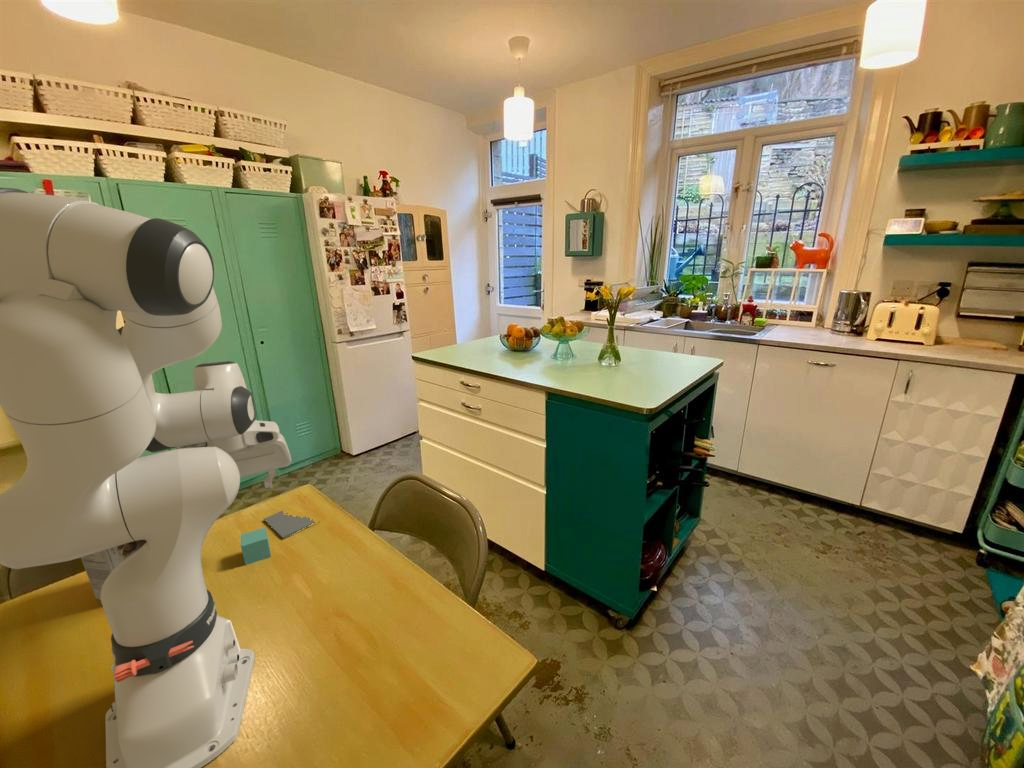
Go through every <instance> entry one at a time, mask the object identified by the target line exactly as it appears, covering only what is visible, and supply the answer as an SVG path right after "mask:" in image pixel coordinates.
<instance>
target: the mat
mask: <svg viewBox="0 0 1024 768" xmlns="http://www.w3.org/2000/svg"><path fill="white" fill-rule="evenodd" d="M283 514H284V513H283V510H281V511H277V512H275V513H273V514H272V515H269V516H267V517H264V518H263V521H264V520H265V521H266V522H267V523H268V524H269V525H270V526H271V527H272V528H271V527H270V526H269V525H268V524H267V523H266V522H265V521H264V522H265V523H266V524H267V525H268V526H269V527H270V528H271V529H272V531H274V532H275V531H276V532H277V533H278V534H279V535H280V536H281V537H282V538H285V539H287V538H289V537H291V536H293V535H292V534H294V533H296V532H297V531H299V530H302V529H303V528H305V527H308V526H309V525H311V524H312V523H315V522H314V521H313V519H312V520H311V521H310V518H309V517H308V518H306V516H305V517H303V518H301V517H298V516H296V517H293V516H292V515H289V516H288V515H285V514H284V515H283ZM286 514H288V513H286ZM308 528H309V527H308ZM302 531H303V530H302ZM276 532H275V533H276ZM277 533H276V534H277ZM278 534H277V535H278ZM296 534H297V533H296ZM279 535H278V536H279ZM290 535H291V536H290ZM294 535H295V534H294ZM280 536H279V537H280ZM288 536H289V537H288ZM281 537H280V538H281ZM286 537H287V538H286ZM282 538H281V539H282Z"/></svg>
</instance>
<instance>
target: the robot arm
mask: <svg viewBox="0 0 1024 768" xmlns="http://www.w3.org/2000/svg"><path fill="white" fill-rule="evenodd" d="M214 279H215V265H214V260H213V257H212V253H211V251H210V250H209V248H208V247H207V245H206V244H205V243H204V241H202V239H201V238H200V237H199V236H198V235H197V234H196V233H195V232H193V231H192V230H191V229H188V228H186V227H185V226H182V225H180V224H177V223H175V222H172V221H169V220H166V219H163V218H157V217H155V218H150V217H146V216H143V215H140V214H137V213H133V212H129V211H126V210H121V209H118V208H114V207H110V206H106V205H101V204H99V203H97V202H94V201H89V200H86V199H85V200H84V199H80V198H73V197H69V196H68V197H66V196H61V195H53V194H43V193H42V194H41V193H33V192H28V191H26V190H22V189H18V188H11V187H0V407H1V409H2V410H3V413H4V415H5V416H6V418H7V419H8V421H9V422H10V424H11V426H12V428H13V430H14V431H15V433H16V435H17V437H18V439H19V442H20V444H21V445H22V448H23V450H24V453H25V455H26V459H27V460H26V461H27V464H26V467H25V471H24V473H23V475H21V477H20V478H19V479H18V480H17V481H16V482H15V483H14V484H13V485H12V486H11V487H9V488H8V489H7V490H5V491H3V492H2V493H0V565H1V566H4V567H6V568H10V569H13V570H20V569H27V568H34V567H40V566H47V565H53V564H58V563H64V562H69V561H73V560H77V559H81V557H83V556H87V555H90V554H93V553H96V552H100V551H103V550H106V549H110V548H113V547H116V546H119V545H123V544H126V543H129V542H133V541H138V540H146V541H147V542H146V543H145V544H144V545H143V546H142V547H141V548H140V549H139V550H137V551H136V552H134V553H133V554H132V555H130V556H129V557H127V558H126V559H125V560H124V561H122V562H121V563H120V564H119V565H118V566H117V567H116V568H115V569H114V570H113V571H112V572H111V573H110V575H109V576H108V577H107V579H106V580H105V582H104V584H103V586H102V589H101V594H100V603H101V605H102V608H103V610H104V614H105V616H106V620H107V622H108V625H109V627H110V631H111V632H112V633H111V636H110V640H111V641H110V642H111V652H112V657H113V660H114V661H113V663H112V664H111V665H110V669H111V672H112V674H113V685H114V700H115V701H114V702H112V703H111V706H110V708H108V710H107V711H106V714H105V719H104V720H105V721H104V722H105V761H106V763H105V764H106V765H105V766H106V767H105V768H203V767H205V765H207V764H209V763H210V762H212V761H213V760H215V759H216V758H217V757H218V756H219V755H220V754H222V753H223V752H224V751H225V750H227V748H229V746H231V744H233V742H235V740H236V739H237V737H238V735H239V732H240V731H239V730H240V727H241V724H242V717H243V713H244V710H245V709H244V708H245V706H246V705H245V704H246V700H247V696H248V690H249V686H250V682H251V681H250V680H251V678H252V677H251V676H252V673H253V668H254V664H255V659H256V655H255V652H254V650H253V649H250V648H241V646H240V644H239V640H238V638H237V635H236V632H235V629H234V626H233V623H232V621H231V620H230V619H228V618H225V617H223V616H220V615H218V611H217V607H216V602H215V599H214V597H213V596H212V593H211V591H210V590H208V589H207V587H206V586H207V585H206V581H205V576H204V571H203V565H202V552H203V551H202V550H203V546H204V542H205V539H206V537H207V535H208V533H209V531H210V529H211V528H212V526H213V525H214V523H216V521H217V520H218V518H219V517H220V516H221V515H222V514H223V513H224V512H225V511H226V510H227V509H229V507H231V505H232V504H233V502H234V501H235V499H236V498H237V495H238V493H239V489H240V486H241V478H243V477H247V476H252V475H255V474H259V473H260V474H261V473H264V472H267V473H268V476H267V478H264V479H263V485H264V489H265V490H266V489H271V488H273V487H274V486H273V479H274V477H275V475H276V470H277V469H282V468H285V467H289V466H290V465H291V463H292V457H291V456H292V455H291V453H290V449H289V445H288V443H287V441H286V439H285V437H284V435H283V434H282V433H280V432H281V431H280V427H279V425H278V424H277V422H275V421H269V420H257V419H256V418H257V414H256V413H257V412H256V407H255V403H254V398H253V393H252V392H251V391H250V390H249V389H248V388H247V385H246V381H245V378H244V376H243V373H242V370H241V368H240V366H239V364H238V363H237V362H236V361H230V360H228V361H227V360H226V361H217V362H207V363H199V364H197V365H196V366H194V367H193V368H192V374H193V375H192V378H193V380H192V381H193V388H194V389H193V391H191V390H190V391H183V392H174V393H160V392H156V389H155V385H154V379H153V374H154V373H155V372H158V371H160V370H162V369H164V368H166V367H169V366H172V365H174V364H179V363H181V362H185V361H188V360H191V359H193V358H195V357H198V356H199V355H202V354H203V353H205V352H206V351H207V350H208V349H210V347H211V346H212V345H213V344H214V343H215V342H216V341H217V339H218V338H219V336H220V333H221V332H222V327H223V322H222V321H223V320H222V314H221V309H220V304H219V301H218V297H217V295H216V291H215V288H214ZM118 311H120V312H121V313H122V315H123V317H124V320H125V322H124V325H123V326H121V327H119V328H117V316H118ZM175 448H176V449H175ZM145 451H147V452H150V453H153V454H149V455H144V456H141V455H142V454H143V453H144V452H145ZM140 456H141V457H140Z"/></svg>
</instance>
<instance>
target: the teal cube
mask: <svg viewBox="0 0 1024 768" xmlns="http://www.w3.org/2000/svg"><path fill="white" fill-rule="evenodd" d="M269 545H270V540H269V536H268V532H267V528H266V527H262V528H259V529H256V530H252V531H249V532H244V533H242V534H240V548H241V549H240V550H241V552H242V557H243V561H244V564H245V566H248V565H250V564H253V563H257V562H260V561H262V560H263V561H264V560H265V559H269V558H271V557H272V555H271V547H270V546H269Z"/></svg>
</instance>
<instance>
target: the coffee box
mask: <svg viewBox="0 0 1024 768" xmlns="http://www.w3.org/2000/svg"><path fill="white" fill-rule="evenodd" d="M146 542H147V541H146V540H138V541H133V542H129V543H126V544H123V545H119V546H116V547H113V548H110V549H106V550H103V551H100V552H96V553H93V554H90V555H87V556H83V557H80V559H81V562H82V564H83V565H82V566H83V567H84V569H85V572H86V575H87V577H88V581H89V583H90V586H91V588H92V591H93V595H94V597H95V599H96V600H100V594H101V589H102V586H103V584H104V582H105V580H106V579H107V577H108V576H109V575H110V573H111V572H112V571H113V570H114V569H115V568H116V567H117V566H118V565H119V564H120V563H121V562H122V561H124V560H125V559H126V558H127V557H129V556H130V555H132V554H133V553H134V552H136V551H137V550H139V549H140V548H141V547H142V546H143V545H144V544H145V543H146ZM100 601H101V600H100Z"/></svg>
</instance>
